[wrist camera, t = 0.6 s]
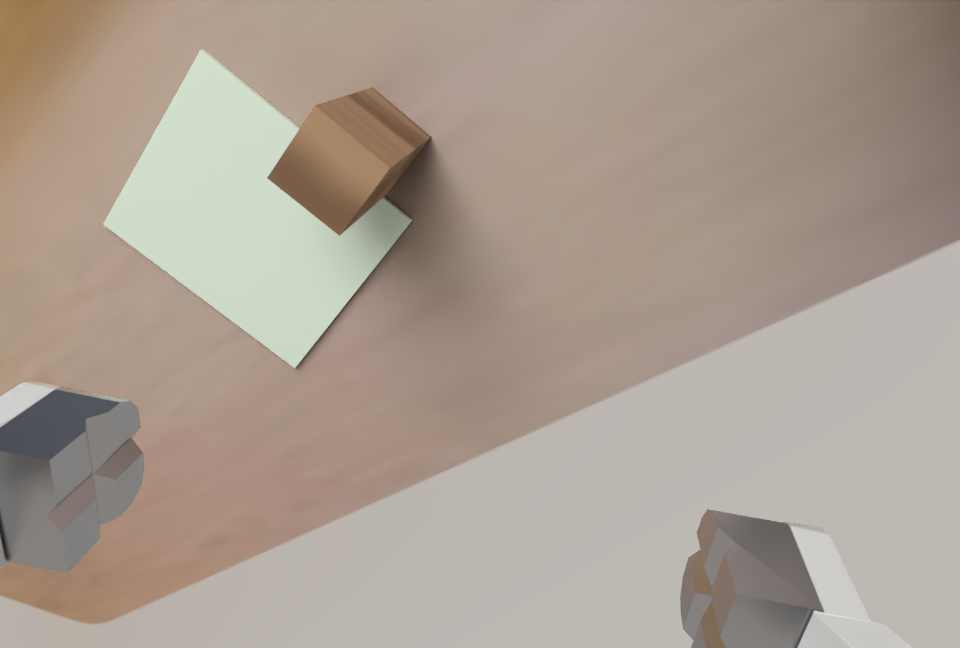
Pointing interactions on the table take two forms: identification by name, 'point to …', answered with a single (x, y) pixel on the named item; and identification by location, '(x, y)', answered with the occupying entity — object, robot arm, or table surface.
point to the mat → (243, 216)
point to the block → (348, 157)
